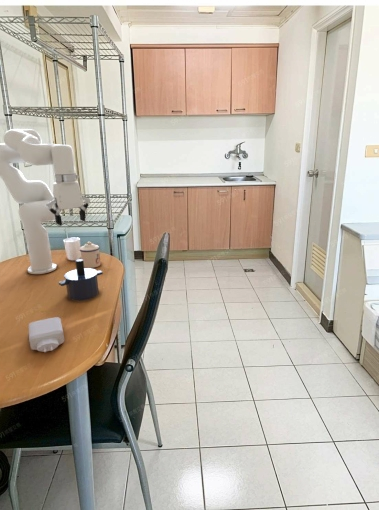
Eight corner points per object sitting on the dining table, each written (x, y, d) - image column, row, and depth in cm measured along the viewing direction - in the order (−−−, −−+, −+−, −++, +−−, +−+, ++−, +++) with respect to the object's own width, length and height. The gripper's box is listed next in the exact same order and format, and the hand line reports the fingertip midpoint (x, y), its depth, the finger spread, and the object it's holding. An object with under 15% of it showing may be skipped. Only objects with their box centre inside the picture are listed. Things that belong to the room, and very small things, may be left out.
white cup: (73, 261, 172) (70, 242, 168) (62, 259, 176) (60, 240, 172) (85, 257, 178) (83, 238, 175) (75, 254, 182) (72, 236, 179)
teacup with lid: (100, 267, 163) (98, 244, 159) (80, 269, 161) (77, 245, 157) (102, 259, 174) (99, 237, 170) (83, 261, 172) (80, 238, 169)
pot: (56, 297, 133) (53, 276, 130) (96, 284, 144) (94, 265, 141) (69, 307, 125) (66, 285, 122) (110, 293, 136) (108, 273, 133)
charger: (31, 363, 94) (30, 336, 107) (67, 354, 98) (62, 329, 111) (28, 348, 93) (28, 322, 105) (64, 339, 96) (60, 316, 109)
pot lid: (59, 276, 132) (56, 260, 130) (88, 268, 140) (86, 253, 138) (73, 285, 124) (70, 268, 121) (103, 276, 131) (102, 260, 129)
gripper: (82, 176, 139) (87, 217, 145) (39, 180, 129) (46, 224, 134) (91, 177, 134) (95, 220, 140) (46, 181, 123) (53, 228, 129)
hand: (71, 222), depth 137 cm, fingers open, 9 cm apart
